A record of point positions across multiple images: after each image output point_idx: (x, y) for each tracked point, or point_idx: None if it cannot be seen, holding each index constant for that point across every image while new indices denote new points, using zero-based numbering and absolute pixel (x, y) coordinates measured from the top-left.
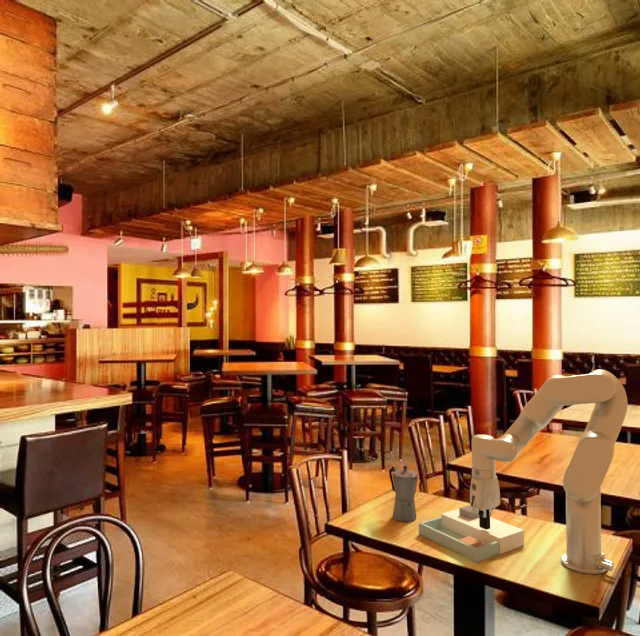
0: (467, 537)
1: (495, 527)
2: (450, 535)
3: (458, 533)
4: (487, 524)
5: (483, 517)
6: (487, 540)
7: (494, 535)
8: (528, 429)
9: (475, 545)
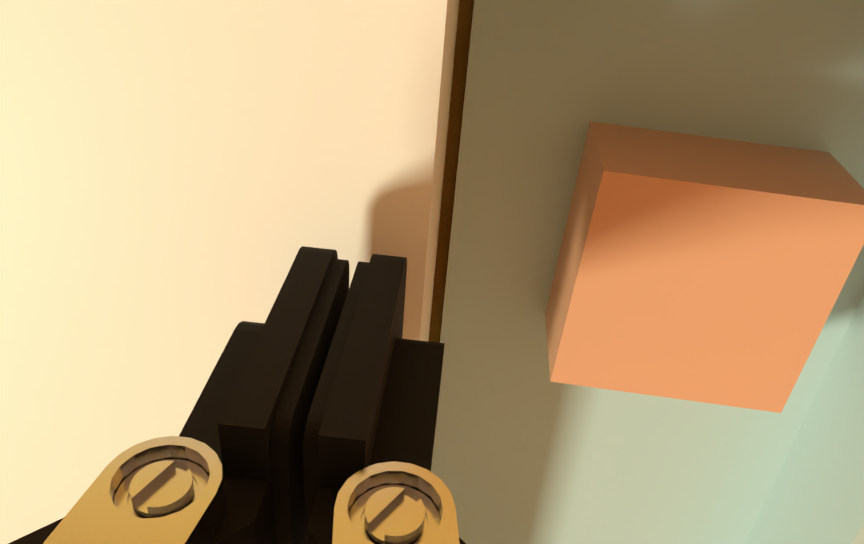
0: (621, 377)
1: (78, 254)
2: (519, 536)
3: None
4: (376, 313)
5: (427, 501)
6: (441, 145)
7: (411, 39)
8: None
9: (739, 173)
